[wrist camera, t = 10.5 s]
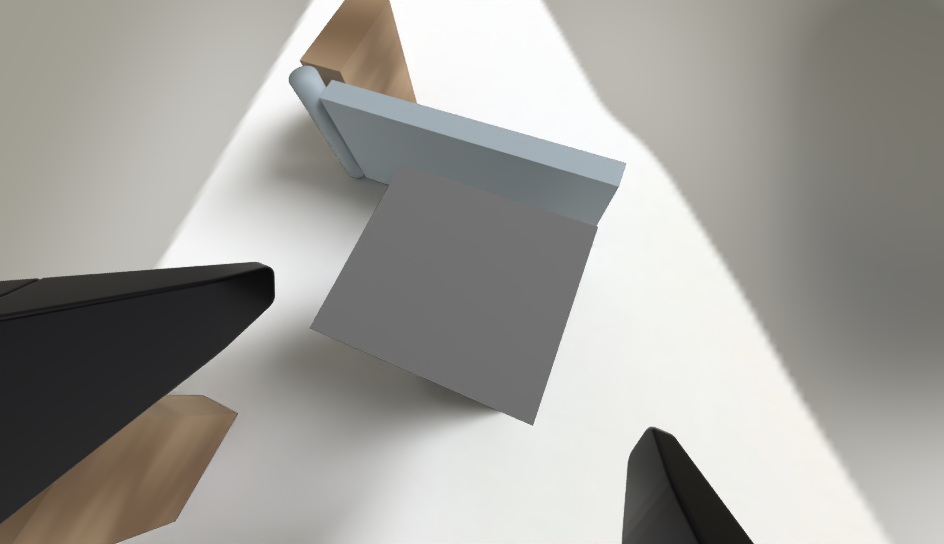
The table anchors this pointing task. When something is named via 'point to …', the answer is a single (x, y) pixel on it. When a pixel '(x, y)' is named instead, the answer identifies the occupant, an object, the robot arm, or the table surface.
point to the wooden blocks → (193, 416)
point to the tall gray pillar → (461, 289)
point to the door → (455, 149)
